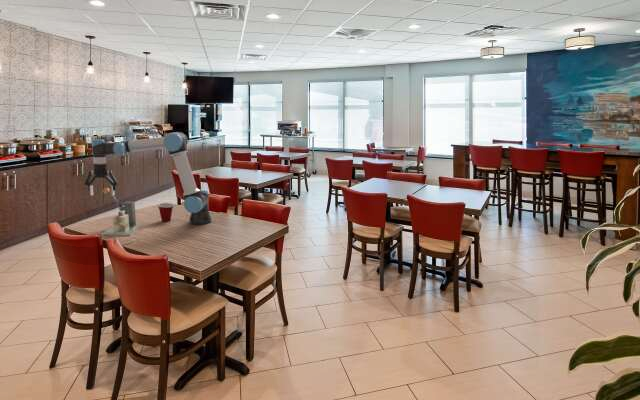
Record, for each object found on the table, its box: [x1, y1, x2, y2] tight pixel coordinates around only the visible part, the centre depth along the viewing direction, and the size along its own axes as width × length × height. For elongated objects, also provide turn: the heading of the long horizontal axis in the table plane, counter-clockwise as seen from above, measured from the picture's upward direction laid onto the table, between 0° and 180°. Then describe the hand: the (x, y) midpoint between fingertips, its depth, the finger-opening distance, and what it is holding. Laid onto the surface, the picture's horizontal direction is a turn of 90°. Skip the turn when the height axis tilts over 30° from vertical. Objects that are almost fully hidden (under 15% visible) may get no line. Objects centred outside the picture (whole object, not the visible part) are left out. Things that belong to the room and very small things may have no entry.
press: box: [102, 201, 140, 237], centre depth 263 cm, size 16×26×16 cm, turn 5°
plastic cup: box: [157, 202, 175, 223], centre depth 288 cm, size 11×11×12 cm
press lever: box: [102, 187, 124, 212], centre depth 270 cm, size 4×4×18 cm
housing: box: [112, 210, 129, 231], centre depth 258 cm, size 7×7×12 cm
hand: (102, 195), depth 269 cm, fingers open, 13 cm apart
